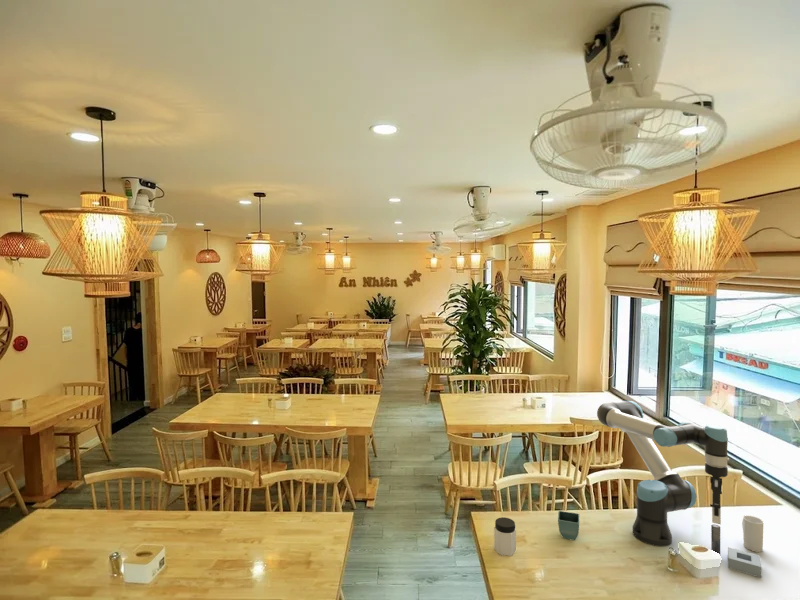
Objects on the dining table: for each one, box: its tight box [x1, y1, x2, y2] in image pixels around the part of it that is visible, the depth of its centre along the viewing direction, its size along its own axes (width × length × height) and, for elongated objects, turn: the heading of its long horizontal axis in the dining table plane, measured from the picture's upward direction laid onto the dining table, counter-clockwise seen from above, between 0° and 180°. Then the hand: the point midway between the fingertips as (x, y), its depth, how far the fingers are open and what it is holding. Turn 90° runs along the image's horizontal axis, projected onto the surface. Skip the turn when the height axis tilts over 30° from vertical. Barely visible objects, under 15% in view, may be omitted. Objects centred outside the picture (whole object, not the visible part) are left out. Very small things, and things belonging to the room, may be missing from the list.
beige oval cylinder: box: [741, 515, 764, 553], centre depth 187 cm, size 10×7×12 cm, turn 172°
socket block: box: [727, 546, 762, 578], centre depth 173 cm, size 10×9×4 cm
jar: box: [493, 517, 517, 557], centre depth 185 cm, size 9×8×12 cm
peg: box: [710, 523, 721, 555], centre depth 180 cm, size 3×3×12 cm
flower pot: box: [557, 510, 580, 541], centre depth 195 cm, size 9×9×9 cm
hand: (716, 516), depth 180 cm, fingers open, 13 cm apart
